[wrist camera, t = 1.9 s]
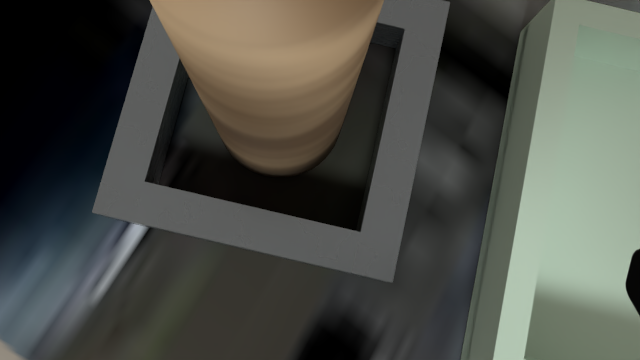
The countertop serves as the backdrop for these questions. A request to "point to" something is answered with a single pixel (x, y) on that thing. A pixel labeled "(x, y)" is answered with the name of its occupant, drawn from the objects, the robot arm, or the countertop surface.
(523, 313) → the tray
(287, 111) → the lock pin
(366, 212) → the steel collar
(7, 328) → the countertop surface
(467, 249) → the countertop surface
